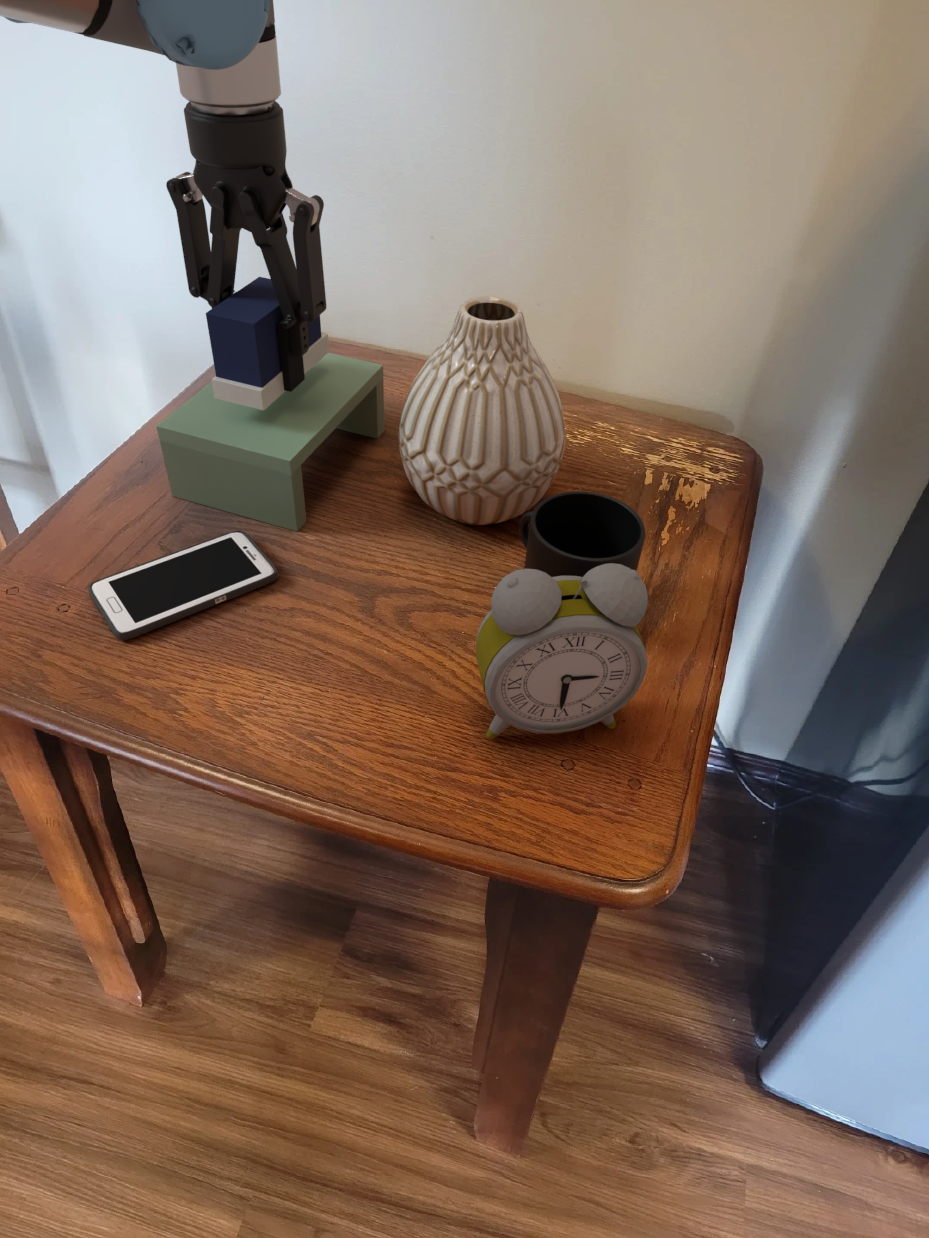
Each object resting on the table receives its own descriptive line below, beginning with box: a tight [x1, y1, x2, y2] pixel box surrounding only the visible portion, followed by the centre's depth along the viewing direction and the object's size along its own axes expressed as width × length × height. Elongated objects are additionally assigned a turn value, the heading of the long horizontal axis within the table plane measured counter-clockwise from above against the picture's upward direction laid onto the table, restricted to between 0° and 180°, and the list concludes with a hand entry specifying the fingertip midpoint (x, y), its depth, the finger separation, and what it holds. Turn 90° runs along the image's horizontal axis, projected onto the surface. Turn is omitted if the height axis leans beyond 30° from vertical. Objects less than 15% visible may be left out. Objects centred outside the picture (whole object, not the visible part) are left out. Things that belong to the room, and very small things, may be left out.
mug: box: [518, 490, 646, 577], centre depth 73 cm, size 9×12×9 cm
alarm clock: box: [475, 563, 649, 741], centre depth 61 cm, size 12×7×15 cm, turn 99°
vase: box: [397, 295, 567, 526], centre depth 79 cm, size 16×16×20 cm
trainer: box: [205, 276, 330, 410], centre depth 80 cm, size 13×5×8 cm, turn 159°
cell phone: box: [87, 529, 279, 641], centre depth 74 cm, size 8×15×1 cm, turn 127°
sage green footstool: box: [155, 352, 385, 532], centre depth 87 cm, size 14×20×8 cm
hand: (267, 377), depth 81 cm, fingers closed on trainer, 5 cm apart
